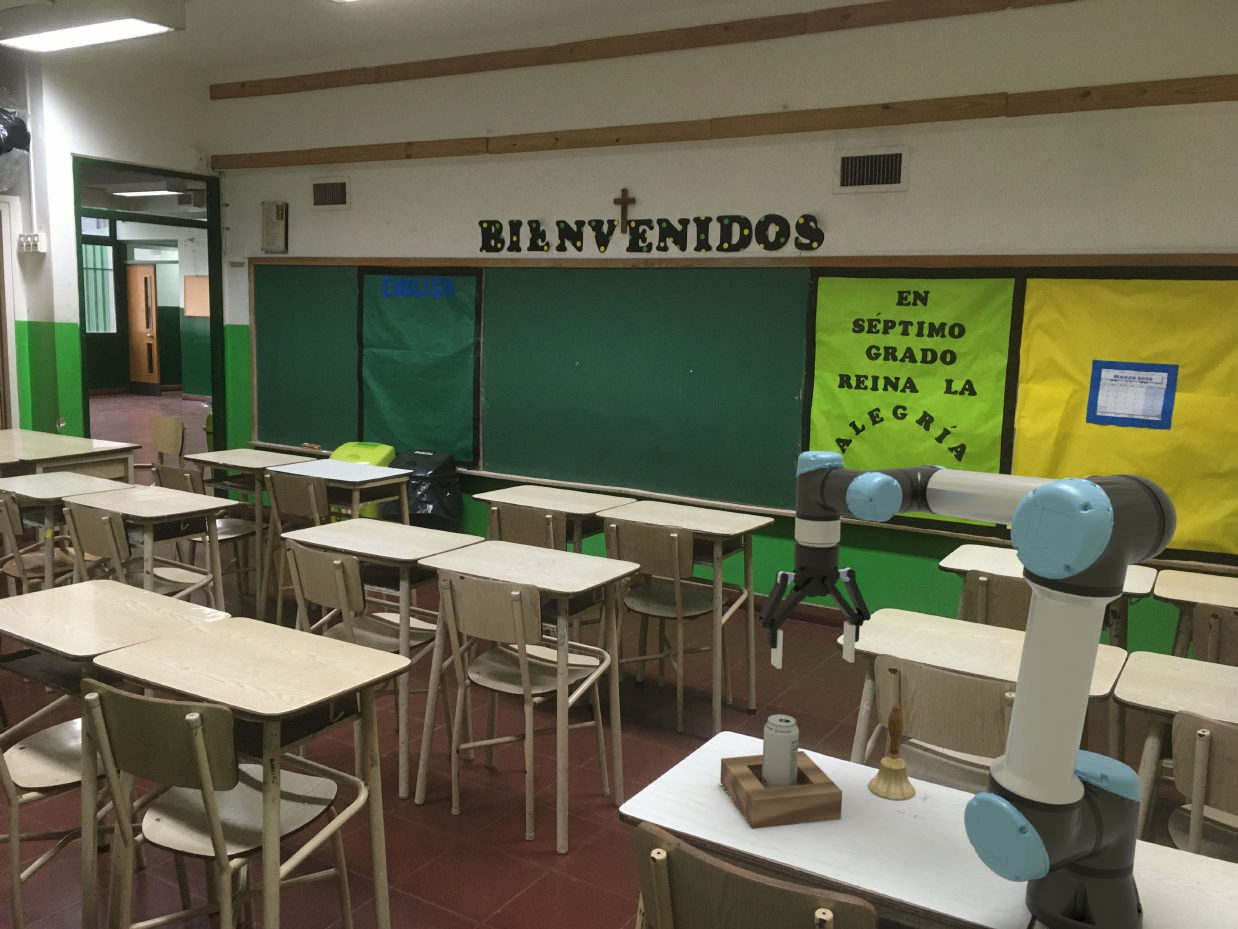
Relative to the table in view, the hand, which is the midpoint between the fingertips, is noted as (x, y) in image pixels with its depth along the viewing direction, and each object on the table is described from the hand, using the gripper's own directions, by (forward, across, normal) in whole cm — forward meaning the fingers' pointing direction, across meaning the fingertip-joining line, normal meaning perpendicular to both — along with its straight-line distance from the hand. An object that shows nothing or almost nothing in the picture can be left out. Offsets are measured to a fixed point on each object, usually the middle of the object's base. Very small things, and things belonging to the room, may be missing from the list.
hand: (812, 663), depth 167 cm
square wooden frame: (+25, +5, -2) cm, 26 cm away
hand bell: (+26, -17, -1) cm, 31 cm away
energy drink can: (+26, +5, -2) cm, 26 cm away
